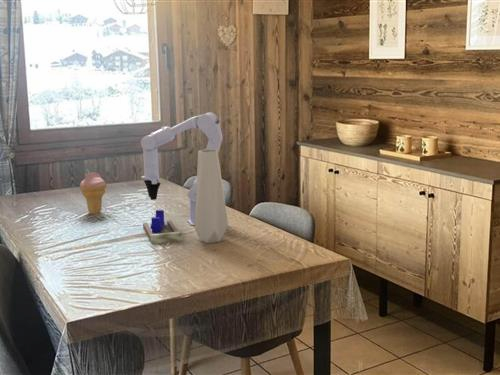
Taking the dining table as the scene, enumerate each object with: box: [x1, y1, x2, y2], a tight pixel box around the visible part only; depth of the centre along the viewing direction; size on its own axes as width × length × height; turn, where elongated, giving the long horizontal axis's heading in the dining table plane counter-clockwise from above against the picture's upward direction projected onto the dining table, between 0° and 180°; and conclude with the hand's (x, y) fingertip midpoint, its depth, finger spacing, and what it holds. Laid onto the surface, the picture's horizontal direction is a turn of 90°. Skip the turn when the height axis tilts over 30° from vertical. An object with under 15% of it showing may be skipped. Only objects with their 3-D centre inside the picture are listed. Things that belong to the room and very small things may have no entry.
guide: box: [142, 219, 183, 244], centre depth 229 cm, size 11×22×3 cm, turn 17°
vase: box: [194, 148, 229, 244], centre depth 218 cm, size 12×12×33 cm
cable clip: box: [150, 209, 165, 234], centre depth 236 cm, size 12×4×6 cm, turn 0°
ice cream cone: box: [79, 165, 107, 215], centre depth 259 cm, size 11×11×20 cm
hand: (152, 198), depth 246 cm, fingers open, 4 cm apart
